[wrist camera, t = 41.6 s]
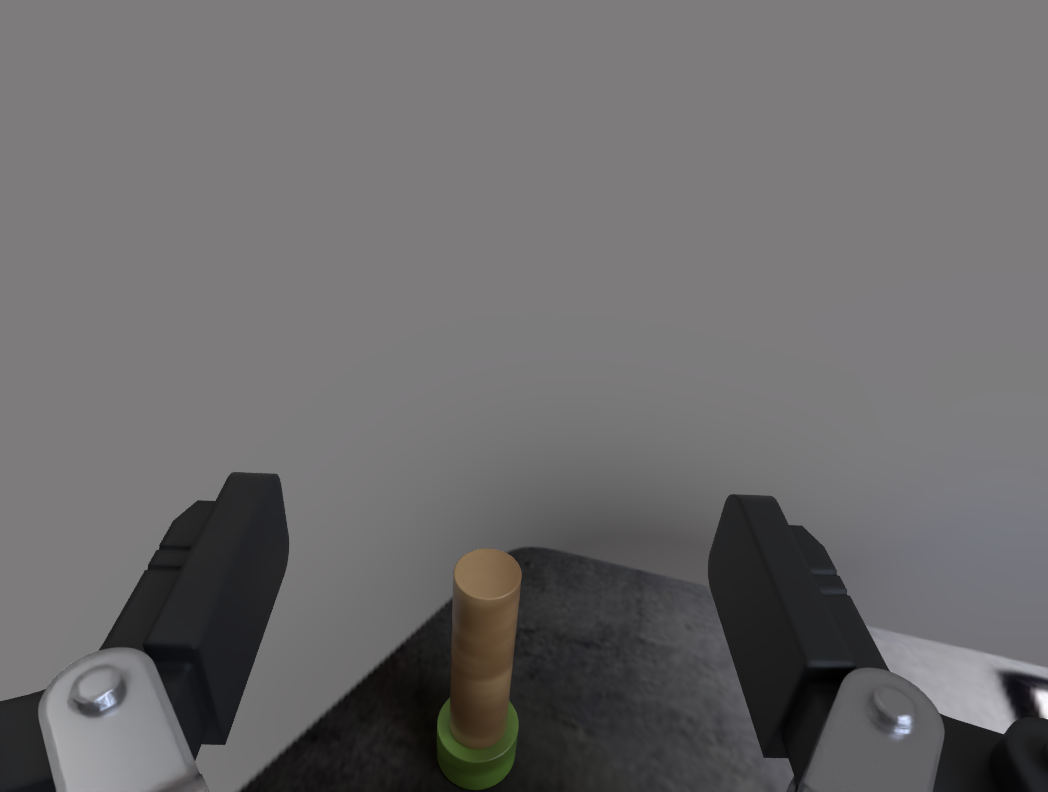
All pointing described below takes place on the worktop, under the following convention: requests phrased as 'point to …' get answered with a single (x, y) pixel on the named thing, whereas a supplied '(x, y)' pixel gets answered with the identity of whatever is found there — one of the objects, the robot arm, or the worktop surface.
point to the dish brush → (481, 672)
